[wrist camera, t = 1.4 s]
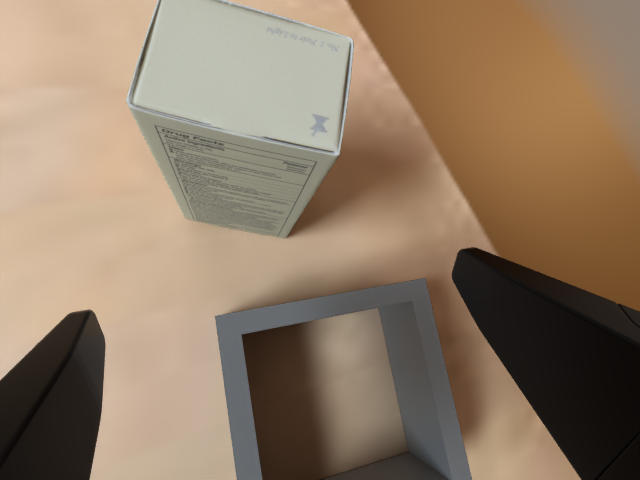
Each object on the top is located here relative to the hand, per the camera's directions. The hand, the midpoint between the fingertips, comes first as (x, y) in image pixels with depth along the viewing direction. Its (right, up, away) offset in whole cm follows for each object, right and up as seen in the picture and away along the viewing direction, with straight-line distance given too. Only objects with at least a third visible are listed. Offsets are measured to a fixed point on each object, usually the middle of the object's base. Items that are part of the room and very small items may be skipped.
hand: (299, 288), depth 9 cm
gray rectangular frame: (+1, -7, +12) cm, 14 cm away
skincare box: (-4, +4, +14) cm, 15 cm away
